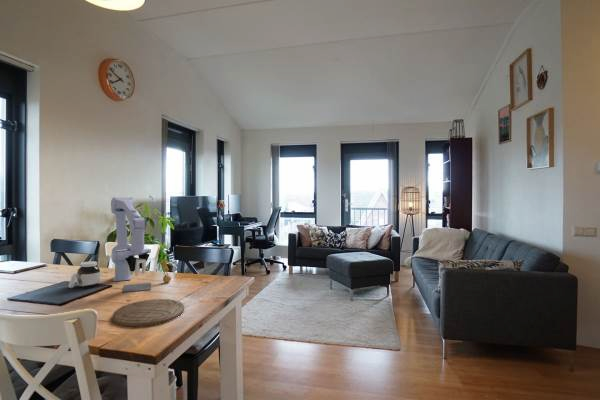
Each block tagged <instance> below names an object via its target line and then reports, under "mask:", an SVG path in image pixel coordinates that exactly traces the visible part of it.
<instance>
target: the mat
mask: <svg viewBox="0 0 600 400" xmlns="http://www.w3.org/2000/svg"><path fill="white" fill-rule="evenodd" d="M151 290H152V283H151V282H145V283H144V282H142V283H134V284H133V283H132V284H124V285H123V289H122V291H121V292H122V294H123V293H132V292H134V293H135V292H144V291H151Z"/></svg>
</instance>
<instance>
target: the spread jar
mask: <svg viewBox="0 0 600 400" xmlns="http://www.w3.org/2000/svg"><path fill="white" fill-rule="evenodd" d="M76 283H77V285H78V287H79V288H80V287H82V288H81V289H89V288H88V287H91V288H94V286H95V287H96V286H98V285H99V284H100V283H101V270H100V267H99V266H98V262H97V261H95V260H94V261H93V260H90V261H83V262H81V263H80V267H79V268H78V269H77V272H76V273H73V274H72V276H71V278H70V281H69V284H68V288H70V289H73V288H74V287H75V284H76Z"/></svg>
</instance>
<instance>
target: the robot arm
mask: <svg viewBox="0 0 600 400" xmlns="http://www.w3.org/2000/svg"><path fill="white" fill-rule="evenodd" d="M134 205H135V200H134V199H133V197H116V196H113V197H112V198H111V200H110V211H111V214H113V215H114V217H115V225H116V226H115V228H116V240H117V241H116V245H115V246H114V247H112V248H111V261H112V263H113V264H114V278H113V280H112V281H113V282H120V281H130V280H131V279H132V275H133V274H132V275H129V268H130V271H133V272H135V263H136V259H137V258H139V259H146V262H147V261H148V259H149V257H150V254H152V253H151V252H152V249H151V248H145V229H147V226H148V225H147V223H148V222H147V218H146V217H144V216H143V217H142V215H141V214H140V213H139V211H138V210H137V209H134ZM127 220H128V223H129V232H130V235H131V236H130V237H131V238H130V239H131V241H130V244H128V231H127ZM135 256H137V257H135ZM140 269H141V270H142V263H140Z"/></svg>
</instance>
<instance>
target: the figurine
mask: <svg viewBox="0 0 600 400" xmlns="http://www.w3.org/2000/svg"><path fill="white" fill-rule="evenodd" d="M161 264H162V269H163V274H164V276H163V277H162V281H163V283H167V284H168V283H170V282H171V280H172V276H171V275H170V274H169V273H168V272H169V268H168V265H167V264H169V266H171V267H173V265H172V264H171V262H170V261H168V260H167V259H163V260H161V261H160V262H159V263H158V264H157V265H158V266H157V267H158V268H157V271H159V270H160V265H161Z"/></svg>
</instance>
